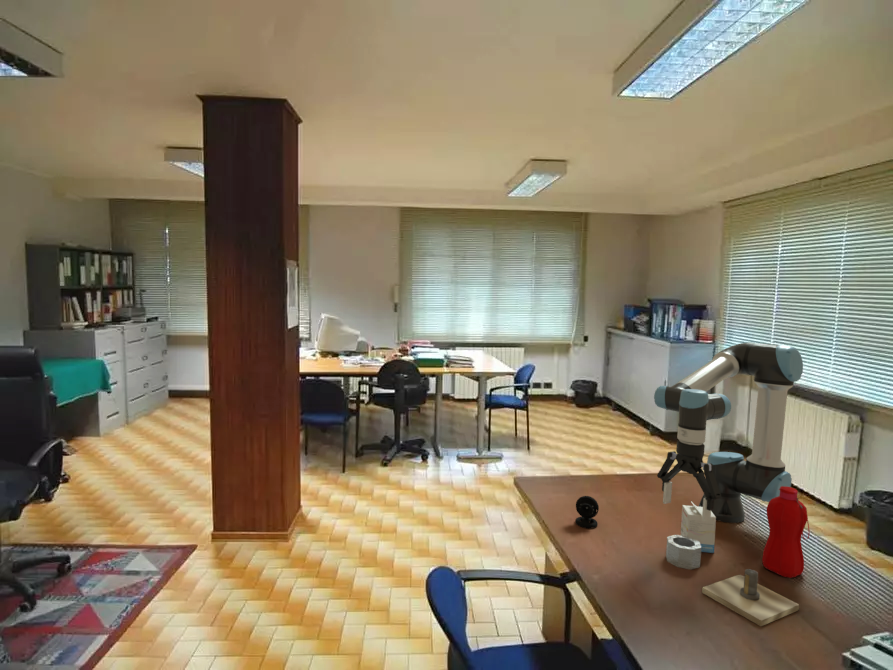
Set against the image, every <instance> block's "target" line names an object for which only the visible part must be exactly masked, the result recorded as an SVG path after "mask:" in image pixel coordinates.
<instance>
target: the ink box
mask: <svg viewBox="0 0 893 670" xmlns="http://www.w3.org/2000/svg"><path fill="white" fill-rule="evenodd" d="M690 502H691V504H692V505H686V504H682V507H681V508H682V509H681V521H680V522H681V523H680V535H681V536H688V537H690V538H692V539H695V540H697V541H699V542H700V545H701V553H709V554H710V553H711V554H714V553H715V543H716V542H715V541H716V524H717V522H716V521H717V520H716V517H715V515H714V514H713V513H712V511H711V517H710V520H707V521H703V520H702V512H703V507H699V505H698V506H697V505H696V504H695V503H694V502H693V501H690Z"/></svg>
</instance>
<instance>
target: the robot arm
mask: <svg viewBox="0 0 893 670" xmlns="http://www.w3.org/2000/svg"><path fill="white" fill-rule="evenodd" d="M801 355H802V354H800V351H799V350H798V349H797V348H795V347H793V346H789V345H784V344H771V343H759V342H758V343H757V342H742V343H741V342H740V343H738V344H735V345H732V346H729V347H726V348H724V349H722V350H721V351H719V352H717V353H716V354H714V356H713V357H712V360H710V361H708V362H707V363H706V364H704V365H703V366H701V367H699V368H698V369H696V370H695V371H694V372H692V373H690V374H689V375H687V376H686V377H684V378H683V379H681V380H680V381H678V382H677V383H675V384H673V385H672V386H669V385H660V386H658V387H656V390H655V391H654V393H653V395H654V396H653V399H654V404H655V406H656V407H658V408H660V409H664V410H666V411H673V412H677V413H678V425H677V434H676V435H677V438H676V439H678V440H676V448H675V449H676V451H675V450H673V451H668V452H667V455H666V459H665V461H664V463H663V464H662V466H661V468H660V470H658V473H657V475H656V477H657V479H658V478H659V479H660V480H661V481H662V483H661V484H662V485H661V491H662V492H663V497H662V504H665V505H666V504H671V503H672V491H673V482H672V479H674V478H675V476H676V475H678V474H679V473H680V472H683V473H687V474H689V475H692V477H694V478H695V479H696V481H697V483H698V484H699V485H698V486H699V487H700V488H701V490H702V492H703V495H702V497H701V499H700V501H699V503H698V506H699V507H703V512H702V520H703V521H707V520H710V517H711V511H712V513H713V514H714V515H715V517H716V521H718V522H722V523H729V524H730V523H731V524H732V523H733V524H734V523H735V524H737V523H742V522H744V521H745V516H746V515H745V514H746V512H745V511H744V510H745V509H744V506H743V502H742V499H741V495H744V496H748V497H751V498H754V499H757V500H760V501H762V502H765V503H769V502H770V501H771V499H773V498H775V497H778V496H780V490H779V489H780V487H782V486H786V487H791V486H792V475H791V473H790V472H788V471H786V464H785V463H784V461H782V450H783V439H784V431H785V430H784V429H785V420H786V409H787V399H788V391H789V390H790V389H791V388H793V387H794V383H795V382H798V381H799V380H800V379H802V375H803V373H804V372H803V371H804V363H803V357H802V356H801ZM736 375H748V376H753V382H754V384H755V385H756V386H757V387H758V388H757V389H758V390H757V398H756V409H755V420H754V428H753V429H754V431H753V439H752V449H751V454H750V455H748V456H747V457H746V460H745V458H744V455H743V454H741V453H738V452H731V451H729V452H728V451H715V452H712V453H710V454H709V455H707V462H704V460H703V459H704V456H705V444H704V443H705V442H706V433H707V428H706V427H707V421H710V420H719V419H722V418H724V417H727V416H728V415H729V414H730V413H731V410H732V403H731V401H730V399H729V398H728V396H726V395H725V394H723V393H716V392H715V393H708V391H709V390H711V389H712V388H714V387H715V386H716V385H718V384H720V383H721V382H722V381H724V380H725V379H728V378H733V377H735V376H736ZM675 460H676V462H677V463H676V464H675V465H674V462H675ZM673 465H674V466H673ZM672 466H673V468H672ZM670 469H671V470H670Z"/></svg>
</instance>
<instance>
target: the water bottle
mask: <svg viewBox="0 0 893 670" xmlns="http://www.w3.org/2000/svg"><path fill="white" fill-rule="evenodd" d="M779 490H780V496H778V497H775V498H773V499H771V501H770V502H767V503H768V504H767V507H766V517H767V522H768V528H769V530H768V531H769V535H768V537H767V540H766V543H765V546H764V548H763V553H762V557H761V558H762V560H761V561H762V565H763V567H764V568H765V569H766V570H768V571H771V572H773V573H775V574H777V575H779V576H782V577H784V578H789V579H791V578H795V577H797V576H801V575H803V573H804V570H805V558H804V554H803V553H804V552H803V548H802V547H803V546H802V538H803V539H804V540H808V539H809V538H810V533H807V535H808V536H807V538H805V536H804V533H803V532H804V530H805V527H806V525H807V527H808V528H807V531H808V532H810V525H809V524H810V523H809V517H808V510H807V507H806V506H805V504H804V503H803V502H802V501H800V500H799V497H798V493H799V491H798V490H797V488H794V487H786V486H782V487H780V489H779Z"/></svg>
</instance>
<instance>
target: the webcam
mask: <svg viewBox="0 0 893 670" xmlns="http://www.w3.org/2000/svg"><path fill="white" fill-rule="evenodd" d="M575 510H576V512H577V513H578V514H579V516H578V517H576V519H575V525H577V526H578V527H580V528H583V529H587V530H588V529H595V528H596V527H598V521H597V519H594V517H596V516H598V513H599V510H600V507H599V503H598V501H597V500H596V499H595V498H594V497H592V496H589V495H582V496H580V497H578V499H577V500H576V502H575Z"/></svg>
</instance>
